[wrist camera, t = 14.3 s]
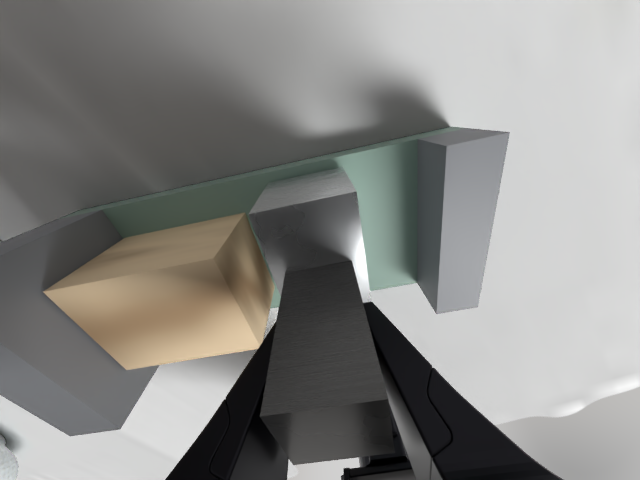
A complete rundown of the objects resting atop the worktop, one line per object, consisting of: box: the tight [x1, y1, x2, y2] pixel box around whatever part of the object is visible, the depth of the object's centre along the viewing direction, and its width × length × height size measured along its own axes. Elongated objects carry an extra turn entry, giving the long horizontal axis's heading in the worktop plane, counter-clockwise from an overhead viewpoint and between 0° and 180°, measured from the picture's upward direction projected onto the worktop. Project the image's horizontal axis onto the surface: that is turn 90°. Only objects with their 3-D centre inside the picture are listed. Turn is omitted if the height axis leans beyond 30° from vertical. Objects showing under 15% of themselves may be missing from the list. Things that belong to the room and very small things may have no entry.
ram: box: [248, 167, 395, 465], centre depth 10 cm, size 9×4×10 cm, turn 12°
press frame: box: [0, 127, 510, 436], centre depth 13 cm, size 10×24×8 cm, turn 102°
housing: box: [43, 213, 275, 370], centre depth 13 cm, size 6×8×5 cm
